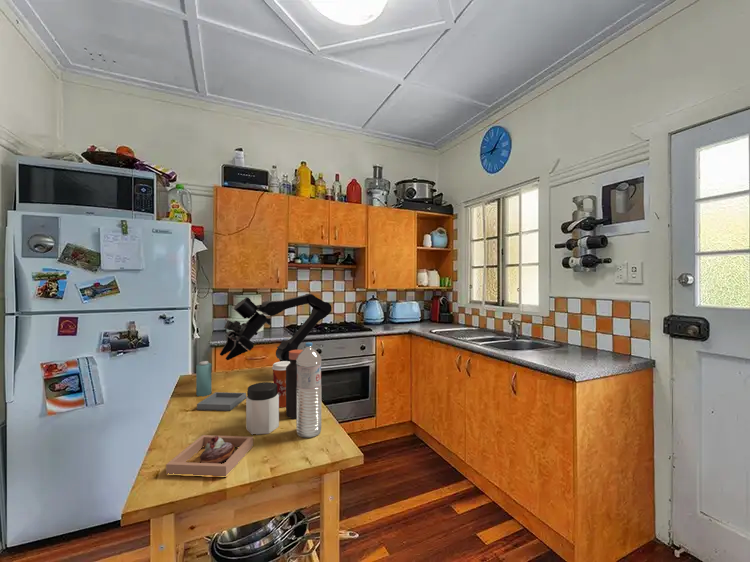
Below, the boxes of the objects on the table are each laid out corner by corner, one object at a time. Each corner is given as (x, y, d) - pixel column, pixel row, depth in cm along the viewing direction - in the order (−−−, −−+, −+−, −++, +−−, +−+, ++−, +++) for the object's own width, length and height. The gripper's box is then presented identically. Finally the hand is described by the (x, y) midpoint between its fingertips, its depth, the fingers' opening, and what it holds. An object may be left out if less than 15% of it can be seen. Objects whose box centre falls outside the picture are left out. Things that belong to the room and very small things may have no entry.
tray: (246, 398, 118) (246, 392, 118) (230, 410, 107) (230, 404, 107) (215, 397, 119) (215, 392, 119) (197, 410, 108) (197, 404, 108)
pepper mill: (214, 392, 125) (214, 360, 125) (206, 396, 120) (206, 363, 120) (201, 391, 125) (201, 360, 125) (193, 396, 120) (193, 363, 120)
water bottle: (310, 441, 87) (310, 346, 87) (291, 435, 90) (291, 343, 90) (326, 430, 93) (326, 342, 93) (307, 425, 96) (307, 339, 96)
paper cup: (275, 410, 107) (275, 367, 107) (269, 403, 114) (269, 362, 114) (298, 405, 111) (298, 364, 111) (291, 398, 118) (291, 359, 118)
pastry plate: (253, 446, 84) (253, 436, 84) (226, 478, 71) (226, 466, 71) (202, 444, 85) (202, 435, 85) (166, 475, 72) (166, 464, 72)
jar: (261, 419, 100) (261, 380, 100) (284, 423, 97) (283, 383, 97) (239, 432, 92) (239, 389, 92) (264, 437, 89) (263, 393, 89)
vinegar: (285, 411, 106) (285, 349, 106) (306, 409, 108) (306, 348, 108) (286, 420, 100) (286, 354, 100) (309, 417, 102) (309, 352, 102)
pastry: (205, 451, 82) (205, 431, 82) (237, 448, 84) (237, 428, 84) (195, 469, 74) (195, 447, 74) (230, 465, 76) (230, 444, 76)
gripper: (231, 311, 137) (202, 340, 131) (245, 314, 123) (212, 348, 116) (251, 328, 142) (223, 357, 136) (266, 334, 127) (236, 367, 121)
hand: (223, 357), depth 127 cm, fingers open, 9 cm apart
